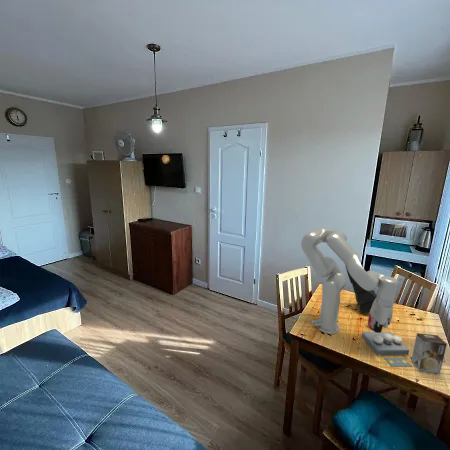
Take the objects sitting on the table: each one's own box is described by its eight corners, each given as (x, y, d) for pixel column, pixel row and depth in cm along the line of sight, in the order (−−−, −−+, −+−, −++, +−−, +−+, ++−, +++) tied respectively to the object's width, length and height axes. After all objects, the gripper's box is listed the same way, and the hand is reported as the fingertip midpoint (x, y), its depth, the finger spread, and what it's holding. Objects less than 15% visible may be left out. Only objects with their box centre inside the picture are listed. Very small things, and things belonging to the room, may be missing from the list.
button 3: (395, 347, 127) (396, 340, 126) (389, 342, 131) (391, 335, 130) (402, 347, 127) (404, 340, 126) (397, 342, 131) (398, 335, 130)
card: (391, 366, 117) (391, 365, 117) (384, 358, 122) (384, 357, 121) (411, 366, 117) (411, 365, 117) (404, 358, 122) (404, 357, 122)
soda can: (383, 332, 142) (386, 313, 139) (369, 330, 143) (372, 312, 140) (378, 324, 148) (381, 306, 146) (365, 323, 150) (368, 305, 147)
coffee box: (431, 363, 119) (438, 334, 115) (440, 374, 113) (447, 344, 109) (410, 361, 120) (416, 332, 117) (418, 371, 114) (425, 341, 110)
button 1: (376, 347, 126) (377, 340, 125) (371, 342, 130) (372, 335, 129) (383, 347, 127) (385, 340, 126) (378, 342, 130) (380, 335, 129)
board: (377, 354, 124) (378, 349, 123) (361, 336, 138) (362, 331, 137) (408, 354, 124) (409, 349, 124) (389, 336, 138) (390, 331, 137)
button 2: (386, 345, 126) (387, 338, 125) (381, 340, 130) (382, 332, 129) (393, 345, 126) (395, 338, 125) (388, 340, 130) (389, 332, 129)
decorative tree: (361, 308, 171) (334, 266, 171) (383, 301, 165) (355, 257, 165) (364, 320, 157) (335, 274, 158) (388, 312, 151) (358, 264, 152)
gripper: (368, 292, 130) (362, 322, 135) (387, 309, 115) (379, 341, 120) (382, 293, 130) (375, 322, 135) (402, 309, 116) (394, 342, 120)
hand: (377, 331), depth 127 cm, fingers closed
